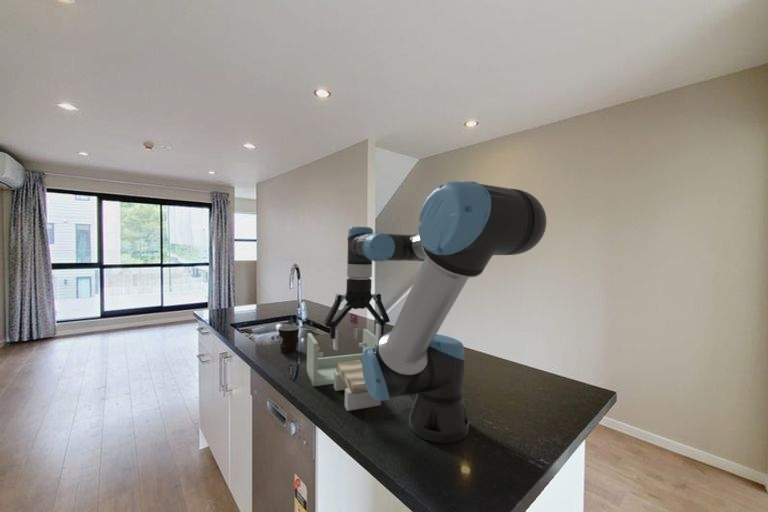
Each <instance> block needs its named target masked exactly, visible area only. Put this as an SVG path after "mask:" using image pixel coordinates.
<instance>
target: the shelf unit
mask: <svg viewBox="0 0 768 512" xmlns="http://www.w3.org/2000/svg"><path fill="white" fill-rule="evenodd" d="M362 330H363V331H362V333H363V334H362V342H359V343H358V347H359V348H362V353H354V354H346V355H345V354H343V355H334V356H325V357H324V352H323V351H321V352H320V350H321V348H320V346H319V343H318V341H317V340H316V338H315V337H314V335H313V334H312V333H311V332H308V333H307V337H306V338H307V339H306V342H307V343H306V346H307V347H306V373H308V374H307V376H308V378H309V380H311V381H310V383H311V385H312V387H320V386H325V385H326V386H327V385H334V372H336V371H337V370H336V365H337V363H338V362H347V361H356V360H360V361H361V362H362V356H363V353H364V351H365V350H366V349H370V348H376V347H377V345H376V344H375V334H374V333H373V332H371V331H370V330H368V329H367V328H363V329H362Z"/></svg>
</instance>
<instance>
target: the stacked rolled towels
mask: <svg viewBox="0 0 768 512" xmlns="http://www.w3.org/2000/svg"><path fill="white" fill-rule="evenodd" d="M336 370H337V372H338V373H339V375H340V376H341V378H342V379H343V381H344V382H345V384H346V385H347V387H348V388H349V390H350V391H351V393H352V394H358V393H364V392H368V390H367V388H366V385H365V381H364V377H363V371H362V362H361V361H360V360H356V361H347V362H338V363H337V365H336Z"/></svg>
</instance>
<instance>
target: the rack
mask: <svg viewBox="0 0 768 512" xmlns="http://www.w3.org/2000/svg"><path fill="white" fill-rule="evenodd" d="M333 389H334V390H335V392H337V391H344V408H345V410H346V411H347V412H348V411H355V410H361V409H367V408H373V407H378V406H381V405H382V401H376V400H374V399H373V398H372V397H371V396H370V394H369V392H364V393H358V394H352V393H351V391H350V390H349V388H348V387H347V385H346V384H345V382H344V381H343V379H342V378H341V376H340V375H339V373H338V372H337V371H336V372H334V384H333Z"/></svg>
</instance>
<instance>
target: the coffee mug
mask: <svg viewBox="0 0 768 512" xmlns="http://www.w3.org/2000/svg"><path fill="white" fill-rule="evenodd" d="M299 334H300V326H298V325H291V324H290V325H289V324H288V325H282V326H279V327H278V335H279V337H278V338H279V346H280V353H282V354H293V352H294V353H296V352H297V349H298V348H297V347H298V343H299ZM295 351H296V352H295Z"/></svg>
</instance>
